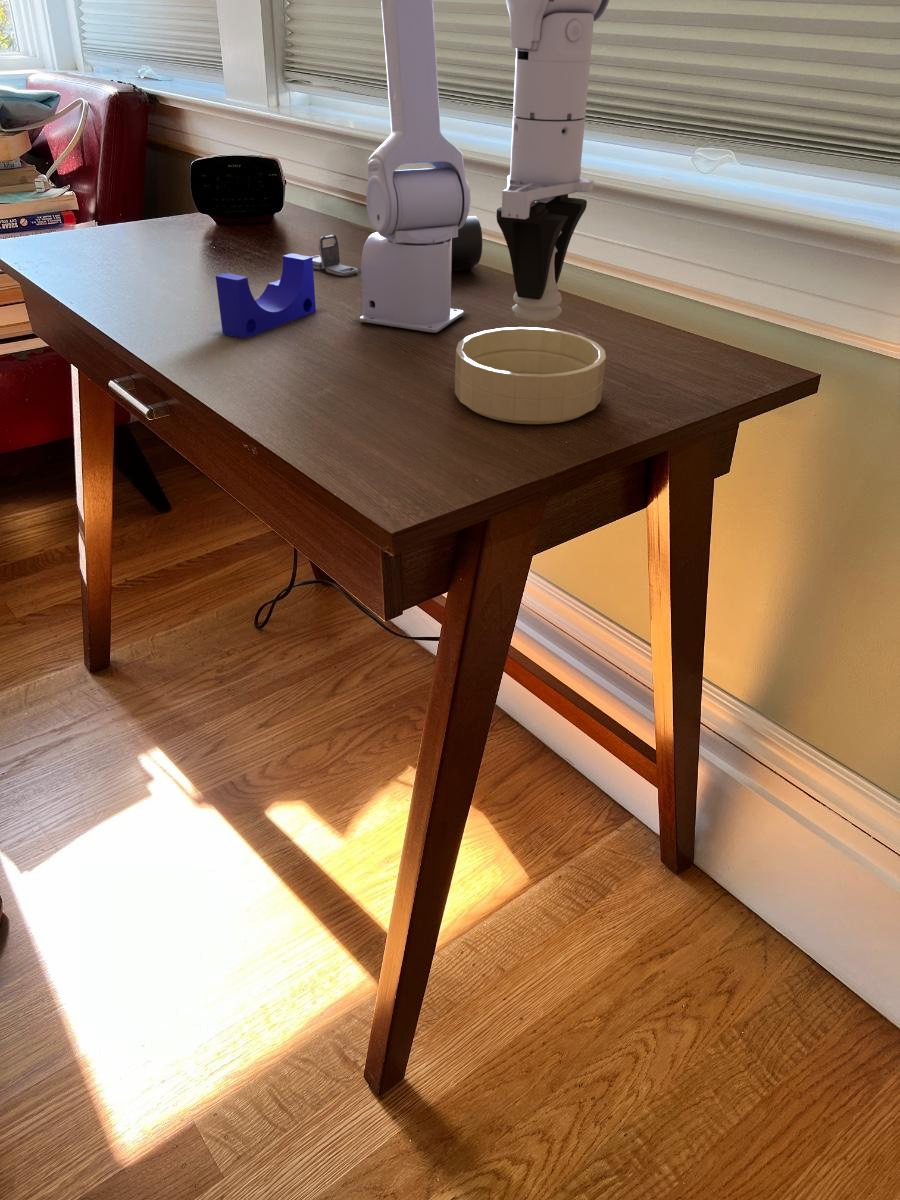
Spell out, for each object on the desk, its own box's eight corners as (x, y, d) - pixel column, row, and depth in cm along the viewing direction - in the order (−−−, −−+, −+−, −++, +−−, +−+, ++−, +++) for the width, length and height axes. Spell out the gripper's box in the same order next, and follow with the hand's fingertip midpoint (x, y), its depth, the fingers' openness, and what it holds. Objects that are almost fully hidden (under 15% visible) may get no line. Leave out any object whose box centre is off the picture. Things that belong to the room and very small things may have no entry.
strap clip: (300, 265, 121) (297, 232, 119) (317, 261, 123) (315, 228, 121) (343, 277, 117) (341, 242, 114) (360, 272, 118) (358, 238, 116)
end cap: (407, 279, 116) (407, 223, 112) (395, 265, 122) (394, 212, 118) (482, 275, 119) (484, 220, 115) (466, 262, 124) (467, 209, 120)
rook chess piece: (559, 324, 78) (567, 225, 74) (507, 320, 79) (513, 222, 74) (563, 309, 82) (572, 215, 77) (515, 305, 83) (520, 212, 78)
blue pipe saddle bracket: (285, 305, 106) (281, 251, 102) (315, 311, 104) (312, 257, 101) (212, 331, 97) (204, 273, 94) (243, 338, 95) (237, 280, 92)
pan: (431, 411, 80) (432, 361, 77) (486, 365, 90) (488, 319, 87) (575, 437, 76) (580, 386, 73) (616, 386, 86) (622, 339, 83)
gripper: (570, 130, 65) (555, 320, 72) (621, 111, 76) (603, 278, 84) (479, 123, 67) (473, 308, 75) (541, 106, 78) (530, 269, 86)
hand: (536, 292), depth 79 cm, fingers closed on rook chess piece, 3 cm apart
